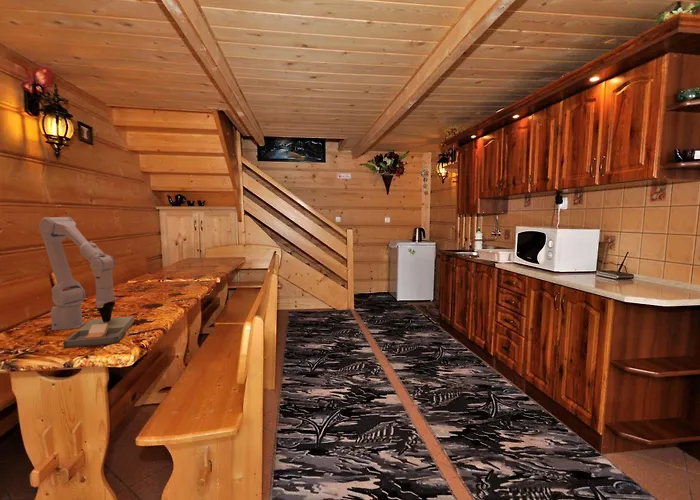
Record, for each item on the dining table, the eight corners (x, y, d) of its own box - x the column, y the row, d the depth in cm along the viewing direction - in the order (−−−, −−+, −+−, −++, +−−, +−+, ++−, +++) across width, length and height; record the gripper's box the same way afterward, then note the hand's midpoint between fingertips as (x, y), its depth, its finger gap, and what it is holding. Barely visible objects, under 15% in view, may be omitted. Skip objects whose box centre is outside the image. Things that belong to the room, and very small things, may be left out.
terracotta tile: (84, 343, 130) (84, 337, 130) (89, 338, 134) (89, 333, 134) (101, 341, 131) (101, 336, 131) (105, 337, 136) (105, 332, 136)
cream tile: (89, 337, 135) (88, 333, 134) (93, 328, 139) (92, 324, 138) (105, 336, 137) (104, 332, 136) (108, 327, 141) (107, 323, 140)
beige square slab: (77, 337, 138) (77, 330, 137) (91, 325, 152) (91, 319, 152) (124, 333, 142) (123, 326, 142) (133, 322, 156) (133, 316, 156)
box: (63, 348, 127) (63, 341, 127) (76, 337, 137) (75, 331, 137) (117, 343, 132) (117, 336, 132) (125, 333, 142) (125, 327, 142)
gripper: (110, 290, 140) (112, 326, 141) (121, 283, 153) (123, 315, 155) (88, 291, 137) (91, 327, 139) (101, 284, 151) (103, 316, 153)
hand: (106, 321), depth 147 cm, fingers closed
